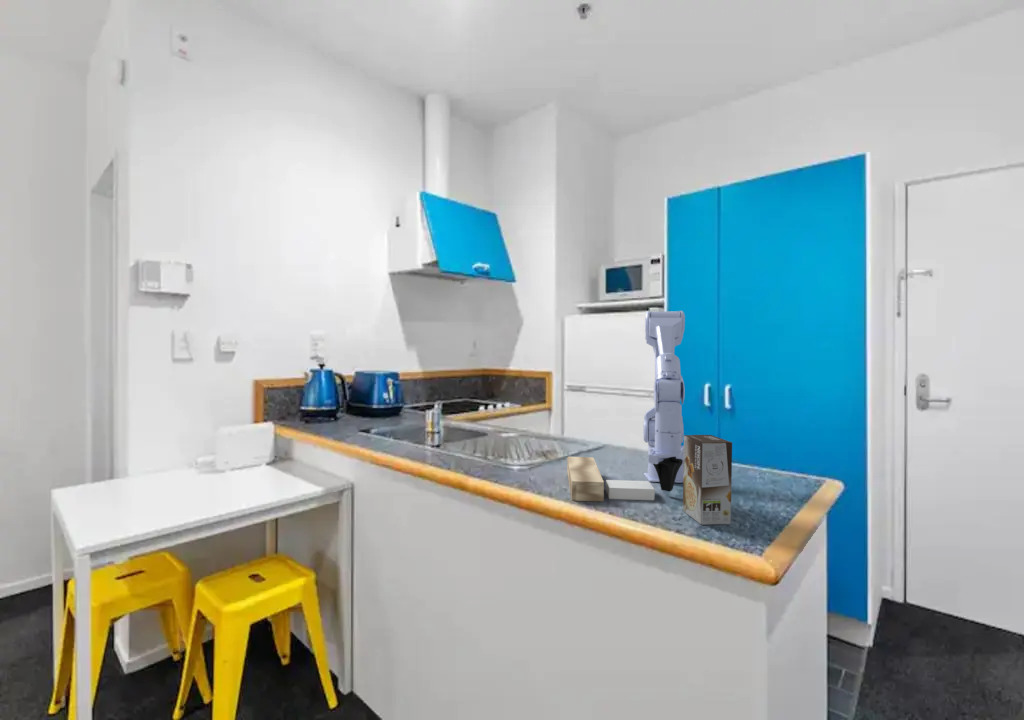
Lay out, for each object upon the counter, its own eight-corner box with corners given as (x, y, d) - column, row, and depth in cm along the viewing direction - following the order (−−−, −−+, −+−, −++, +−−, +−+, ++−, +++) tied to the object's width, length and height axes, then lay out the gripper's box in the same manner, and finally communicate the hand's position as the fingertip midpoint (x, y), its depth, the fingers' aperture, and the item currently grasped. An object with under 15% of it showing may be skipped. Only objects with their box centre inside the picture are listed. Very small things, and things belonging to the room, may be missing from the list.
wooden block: (593, 473, 137) (593, 457, 137) (603, 501, 112) (603, 482, 112) (567, 472, 138) (567, 456, 138) (571, 500, 112) (572, 481, 112)
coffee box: (732, 524, 98) (734, 442, 98) (700, 525, 97) (702, 442, 97) (710, 509, 107) (711, 434, 107) (680, 510, 106) (682, 434, 106)
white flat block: (648, 491, 120) (648, 481, 120) (654, 500, 113) (654, 489, 113) (605, 490, 121) (605, 479, 121) (609, 498, 114) (609, 487, 114)
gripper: (666, 426, 124) (664, 481, 124) (636, 432, 114) (635, 492, 114) (694, 429, 119) (692, 486, 120) (666, 436, 109) (664, 499, 109)
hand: (666, 490), depth 116 cm, fingers closed
